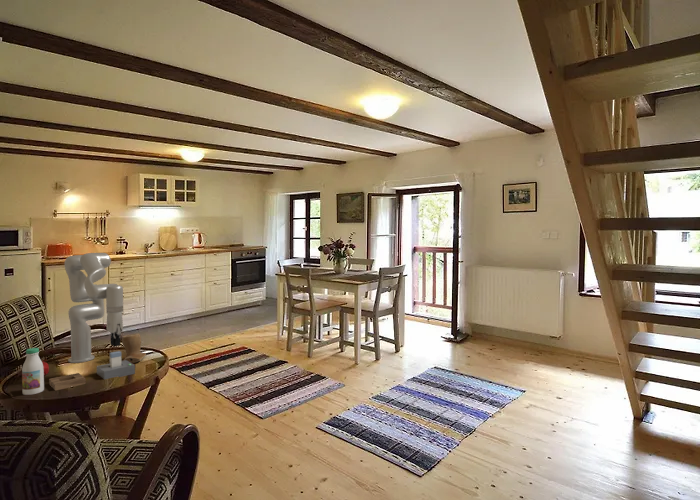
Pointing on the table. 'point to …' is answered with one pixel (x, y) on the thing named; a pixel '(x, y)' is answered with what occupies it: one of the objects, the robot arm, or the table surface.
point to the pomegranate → (45, 367)
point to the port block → (116, 370)
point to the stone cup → (133, 347)
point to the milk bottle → (32, 373)
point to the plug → (115, 359)
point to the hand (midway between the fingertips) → (115, 344)
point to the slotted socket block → (67, 381)
